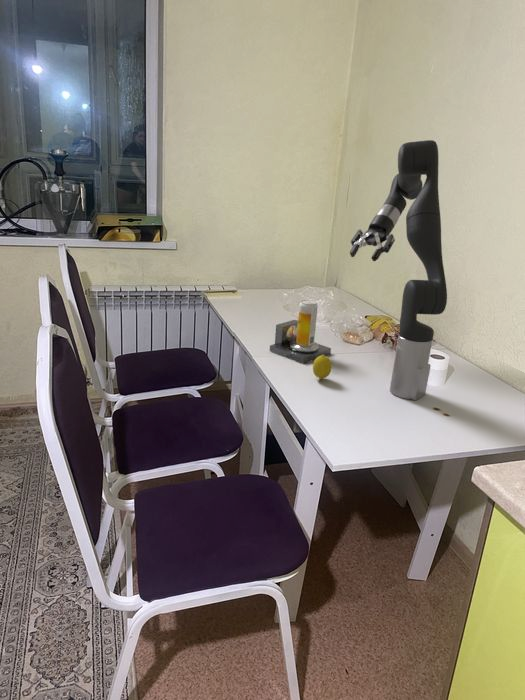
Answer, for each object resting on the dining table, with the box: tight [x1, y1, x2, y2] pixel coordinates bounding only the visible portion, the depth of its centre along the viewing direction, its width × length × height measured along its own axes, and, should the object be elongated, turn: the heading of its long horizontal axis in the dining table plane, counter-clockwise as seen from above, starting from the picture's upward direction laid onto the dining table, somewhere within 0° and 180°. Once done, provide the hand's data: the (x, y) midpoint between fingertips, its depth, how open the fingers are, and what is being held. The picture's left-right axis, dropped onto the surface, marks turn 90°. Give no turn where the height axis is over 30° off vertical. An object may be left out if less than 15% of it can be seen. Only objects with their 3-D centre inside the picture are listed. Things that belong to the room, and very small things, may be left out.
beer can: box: [296, 299, 319, 347], centre depth 166 cm, size 6×6×15 cm
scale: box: [269, 319, 332, 364], centre depth 169 cm, size 15×15×9 cm
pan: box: [289, 340, 319, 353], centre depth 169 cm, size 10×10×1 cm
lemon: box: [312, 355, 332, 380], centre depth 148 cm, size 6×6×8 cm
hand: (362, 257), depth 166 cm, fingers open, 8 cm apart
